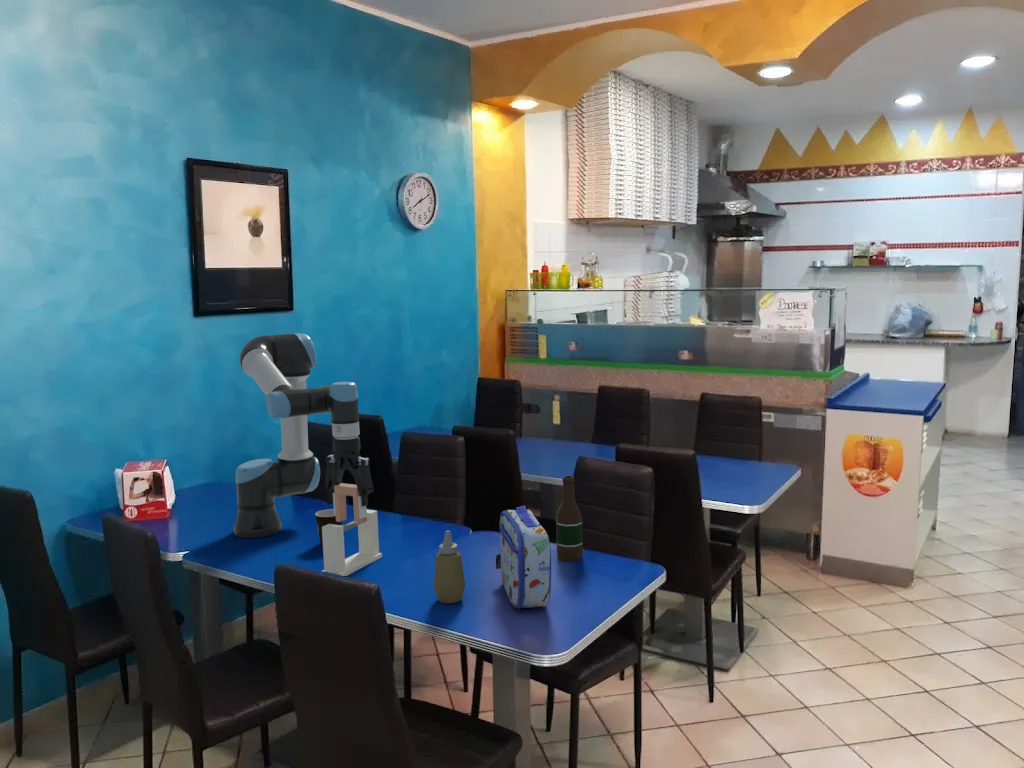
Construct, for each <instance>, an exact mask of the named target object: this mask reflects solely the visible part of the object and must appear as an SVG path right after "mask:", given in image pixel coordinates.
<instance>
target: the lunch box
mask: <svg viewBox="0 0 1024 768" xmlns="http://www.w3.org/2000/svg"><path fill="white" fill-rule="evenodd" d="M498 523H499V525H498V526H499V531H500V539H499V540H500V549H499V550H500V551H499V552H500V553H498V554H496V556H495V569H496V570H500V576H501V582H502V584H503V587H504V589H505V592H506V595H507V598H508V600H509V601H510V603H511V606H513V607H514V608H515V609H522V608H530V609H531V608H542V607H543V608H545V607H547V606H548V605H549V602H550V599H551V591H552V590H551V589H552V549H551V543H550V538H549V535H548V533H547V531H546V530H545V528H544V527H543V526H542V525H541V524H540V522H539V521H538V519H537V518H536V516H535V515H534V514H533V512H532V510H530V509H527V507H526V505H521V506H518V507H517V506H516V508H515V509H506V510H503V511H502V512H501V513H500V517H499V521H498Z"/></svg>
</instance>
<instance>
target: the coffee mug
mask: <svg viewBox="0 0 1024 768" xmlns="http://www.w3.org/2000/svg"><path fill="white" fill-rule="evenodd" d="M314 513H315V514H314V515H315V520H316V527H317V533H318V538H319V544H320V547H322V548H323V538H322V527H323V526H325V525H327V524H334V525H341V526H343V525H344V521H341V522H337V521H336V515H334V508H329V509H323V510H319V511H316V512H314Z"/></svg>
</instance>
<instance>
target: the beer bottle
mask: <svg viewBox="0 0 1024 768" xmlns="http://www.w3.org/2000/svg"><path fill="white" fill-rule="evenodd" d="M561 480H562V497H561V498H562V499H561V504H560V506H559V507H558V508H557V512H556V518H555V522H556V523H555V525H556V526H555V530H556V533H555V534H556V555H557V559H558V560H559V561H562V562H565V563H567V562H568V563H571V562H579V561H580V560H582V559H583V555H584V554H583V553H584V551H583V550H584V549H583V548H584V547H583V546H584V545H583V540H584V539H583V516H582V513H581V511H580V508H579V506H578V505H577V501H576V493H575V491H576V490H575V481H576V480H575V477H574V476H573V475H566V476H565V475H564V476H562V479H561Z"/></svg>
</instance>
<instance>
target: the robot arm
mask: <svg viewBox="0 0 1024 768" xmlns="http://www.w3.org/2000/svg"><path fill="white" fill-rule="evenodd" d="M315 348H316V347H315V345H314V343H313V341H312V338H311V337H310V336H309V335H308V334H306V333H295V332H293V333H282V334H270V335H266V334H265V335H260V336H259V335H258V336H256V337H254V338H251V339H250V340H249V341H247V342H246V344H244V346H243V347H242V349H241V351H240V354H239V365H240V367H241V369H242V371H243V372H244V374H245V375H247V376H248V377H250V378H253V379H254V381H255V383H256V384H257V385H258V386H259V388H260V389H261V390H262V392H263V393H264V395H265V396H266V397H265V408H266V411H267V414H268V416H269V417H270V418H272V419H280V432H281V433H280V434H281V437H280V438H281V451H280V452H279V453H278V454H277V461H273V460H272V459H271V458H267V457H266V458H258V459H257V458H256V459H253V460H249V461H246V462H243V463H242V464H240V465H238V466H237V468H236V470H235V481H234V482H235V485H236V487H235V488H236V499H237V514H236V517H235V523H234V525H233V534H234V536H235V537H237V538H244V539H255V538H265V537H268V536H272V535H275V534H277V533H280V532H281V530H282V526H283V525H282V520H281V519H280V517H279V514H278V512H277V511H278V510H277V508H276V504H275V503H276V502H275V499H276V498H281V497H286V496H293V495H298V494H299V495H300V494H301V495H304V494H305V493H309V492H313V491H315V490H316V489H317V487H318V486H319V483H320V477H321V468H320V461H319V459H318V458H317V457H316V456H314V453H313V452H312V451H311V450H310V449H309V435H308V434H309V430H308V428H309V427H308V426H309V425H308V416H309V415H310V416H311V415H319V414H321V415H322V414H327V413H328V414H329V413H330V415H331V432H332V433H331V434H332V437H333V438H332V450H333V452H334V454H330V455H326V456H325V463H326V469H325V478H324V479H325V480H324V489H325V490H326V491H327V490H328V491H330V496H331V497H330V499H331V503H332V504H333V509H334V515H336V512H335V494H334V485H337V484H340V483H342V479H343V476H344V474H345V471H346V470H347V471H349V474H351V475H352V478H353V479H354V482H355V485H357V488H358V490H359V493H360V495H358V510H359V518H363V517H366V516H367V510H368V509H367V506H368V505H369V497H368V496H369V494H371V493H373V492H374V491H375V490H374V489H375V488H374V483H373V480H372V474H371V469H370V462H371V461H370V458H369V457H362V456H361V454H360V451H361V438H360V436H359V435H360V434H361V433H360V420H359V419H360V418H359V417H360V416H359V415H360V414H359V392H358V386H357V384H356V383H355V382H353V381H338V382H333V383H332V384H329V385H325V384H324V385H322V386H319V387H311V388H307V378H309V376H311V369H313V368H315V367H316V365H317V353H316V349H315ZM366 509H367V510H366Z"/></svg>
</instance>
